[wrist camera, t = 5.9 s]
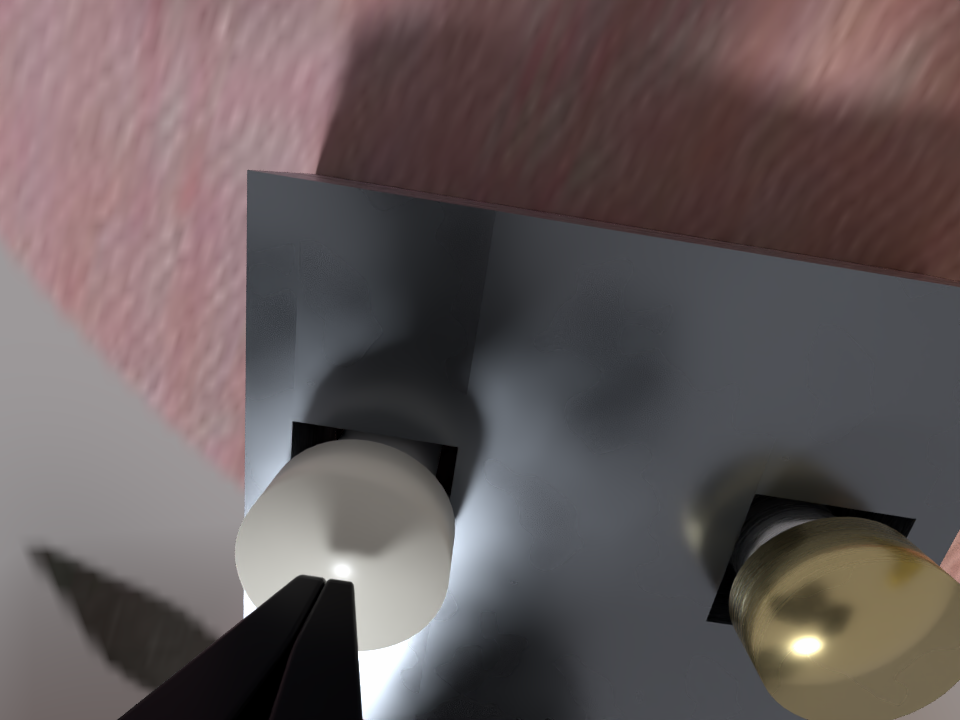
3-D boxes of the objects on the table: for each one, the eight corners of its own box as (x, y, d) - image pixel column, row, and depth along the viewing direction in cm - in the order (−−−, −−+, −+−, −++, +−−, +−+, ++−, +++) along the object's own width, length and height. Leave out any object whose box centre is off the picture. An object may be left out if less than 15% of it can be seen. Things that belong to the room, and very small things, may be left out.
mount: (756, 669, 15) (818, 786, 12) (294, 598, 15) (243, 701, 12) (929, 275, 12) (1082, 307, 9) (314, 173, 11) (247, 170, 8)
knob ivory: (456, 504, 14) (435, 665, 9) (324, 484, 14) (234, 635, 9) (477, 381, 13) (464, 494, 8) (332, 358, 13) (235, 459, 8)
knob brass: (783, 555, 14) (925, 739, 9) (653, 535, 14) (730, 709, 9) (833, 438, 13) (1022, 581, 8) (692, 415, 13) (801, 546, 8)
